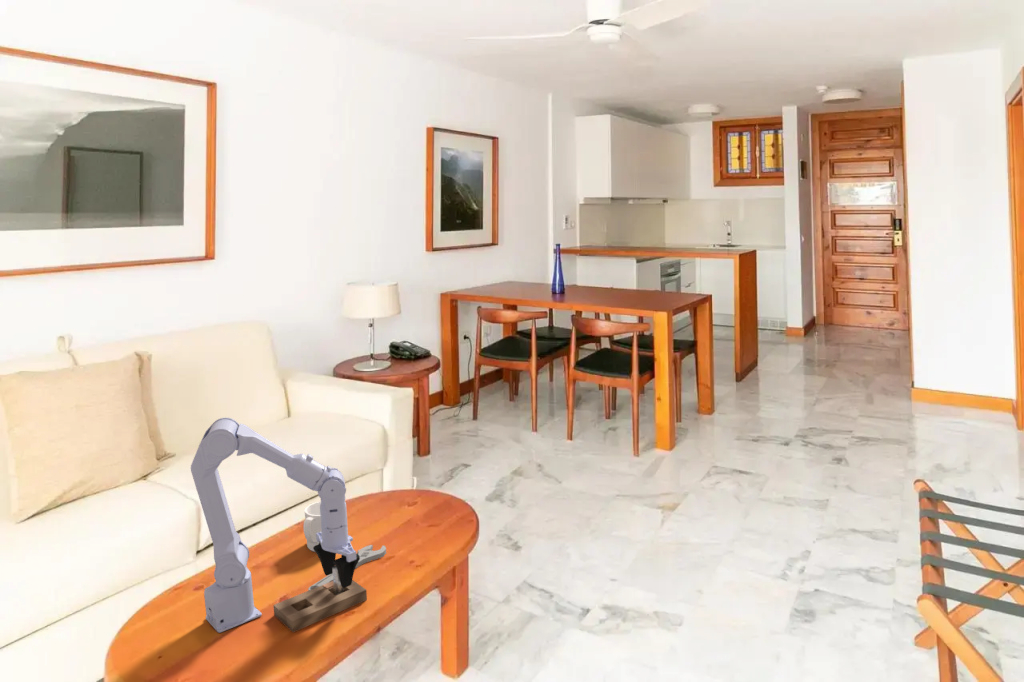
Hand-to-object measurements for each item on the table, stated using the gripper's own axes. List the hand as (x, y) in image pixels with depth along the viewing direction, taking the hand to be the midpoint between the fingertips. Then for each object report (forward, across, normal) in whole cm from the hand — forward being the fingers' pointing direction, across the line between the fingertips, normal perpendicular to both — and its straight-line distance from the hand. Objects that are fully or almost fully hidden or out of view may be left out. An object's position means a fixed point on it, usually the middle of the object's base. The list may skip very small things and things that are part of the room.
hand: (338, 579), depth 158 cm
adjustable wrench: (+6, +11, -8) cm, 15 cm away
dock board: (+5, 0, +4) cm, 7 cm away
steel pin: (+5, 0, 0) cm, 5 cm away
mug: (+5, +27, -10) cm, 29 cm away
